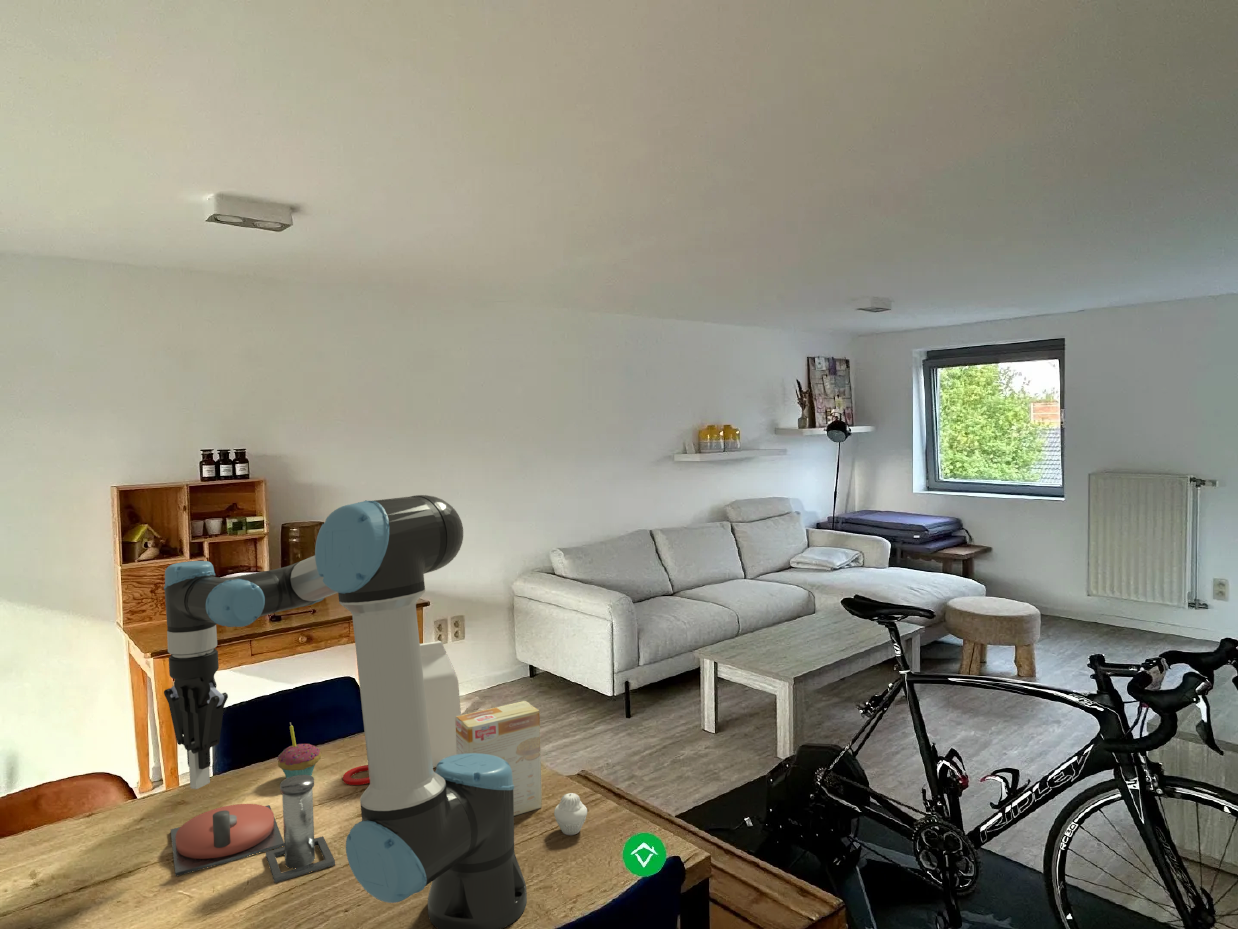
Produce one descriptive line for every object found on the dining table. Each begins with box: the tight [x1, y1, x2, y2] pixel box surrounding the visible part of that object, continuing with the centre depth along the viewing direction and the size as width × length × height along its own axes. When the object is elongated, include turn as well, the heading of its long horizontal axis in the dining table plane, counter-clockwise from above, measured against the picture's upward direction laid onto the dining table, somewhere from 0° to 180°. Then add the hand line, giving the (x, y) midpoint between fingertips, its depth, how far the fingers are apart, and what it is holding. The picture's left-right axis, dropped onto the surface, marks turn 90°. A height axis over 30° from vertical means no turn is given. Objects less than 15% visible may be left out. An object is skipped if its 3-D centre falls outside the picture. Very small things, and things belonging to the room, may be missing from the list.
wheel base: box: [170, 804, 284, 877], centre depth 144 cm, size 17×17×1 cm
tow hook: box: [342, 764, 370, 786], centre depth 169 cm, size 8×13×9 cm
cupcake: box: [276, 722, 322, 779], centre depth 168 cm, size 9×8×12 cm
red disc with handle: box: [176, 803, 275, 859], centre depth 144 cm, size 16×16×7 cm
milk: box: [420, 640, 462, 769], centre depth 178 cm, size 12×12×26 cm
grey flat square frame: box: [265, 836, 336, 884], centre depth 137 cm, size 10×10×1 cm
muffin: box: [554, 792, 588, 836], centre depth 145 cm, size 6×6×7 cm
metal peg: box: [279, 775, 316, 869], centre depth 136 cm, size 5×5×14 cm
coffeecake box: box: [456, 700, 543, 817], centre depth 153 cm, size 15×7×20 cm, turn 122°
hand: (200, 785), depth 138 cm, fingers closed
